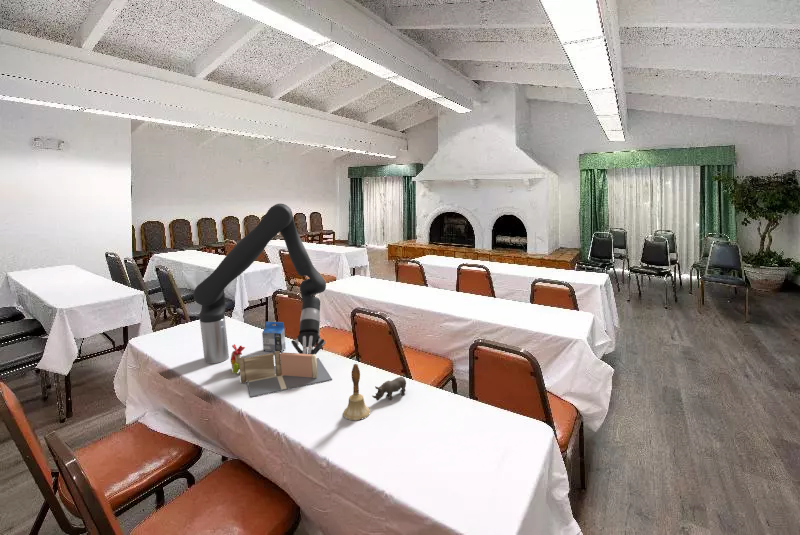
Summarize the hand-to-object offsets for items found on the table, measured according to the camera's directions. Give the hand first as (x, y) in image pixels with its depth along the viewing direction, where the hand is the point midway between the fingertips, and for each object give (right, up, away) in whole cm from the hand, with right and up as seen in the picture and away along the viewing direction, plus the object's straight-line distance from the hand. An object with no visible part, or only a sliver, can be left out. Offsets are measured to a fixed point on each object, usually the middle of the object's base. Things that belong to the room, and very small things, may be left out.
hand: (306, 364), depth 148 cm
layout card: (-7, -5, +2) cm, 9 cm away
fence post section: (-16, -5, -1) cm, 17 cm away
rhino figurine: (+31, -7, -15) cm, 35 cm away
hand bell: (+21, -9, -24) cm, 33 cm away
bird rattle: (-28, -4, +7) cm, 29 cm away
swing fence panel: (-2, -4, 0) cm, 5 cm away
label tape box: (-20, 0, +27) cm, 33 cm away
